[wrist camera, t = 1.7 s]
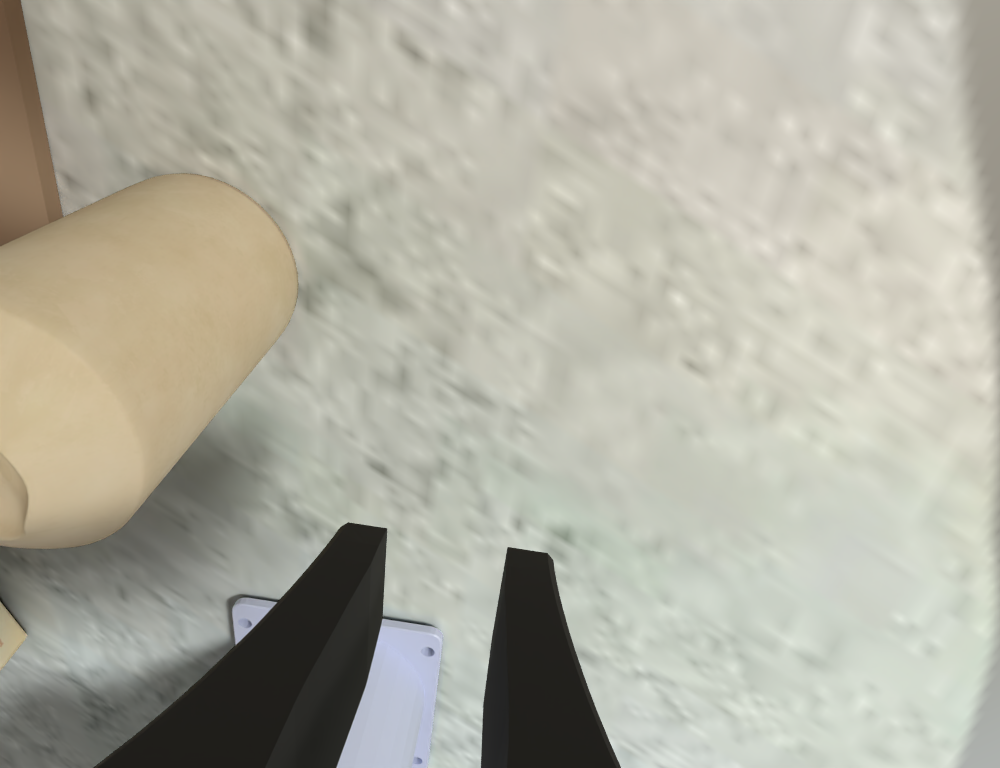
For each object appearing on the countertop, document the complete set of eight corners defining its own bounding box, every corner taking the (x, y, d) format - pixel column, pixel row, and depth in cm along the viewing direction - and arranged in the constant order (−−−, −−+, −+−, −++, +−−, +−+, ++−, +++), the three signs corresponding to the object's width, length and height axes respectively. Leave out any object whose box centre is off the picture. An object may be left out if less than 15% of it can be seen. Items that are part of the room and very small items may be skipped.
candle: (124, 337, 21) (-177, 577, 13) (97, 154, 19) (-310, 303, 10) (301, 367, 21) (120, 628, 13) (301, 188, 19) (68, 367, 10)
